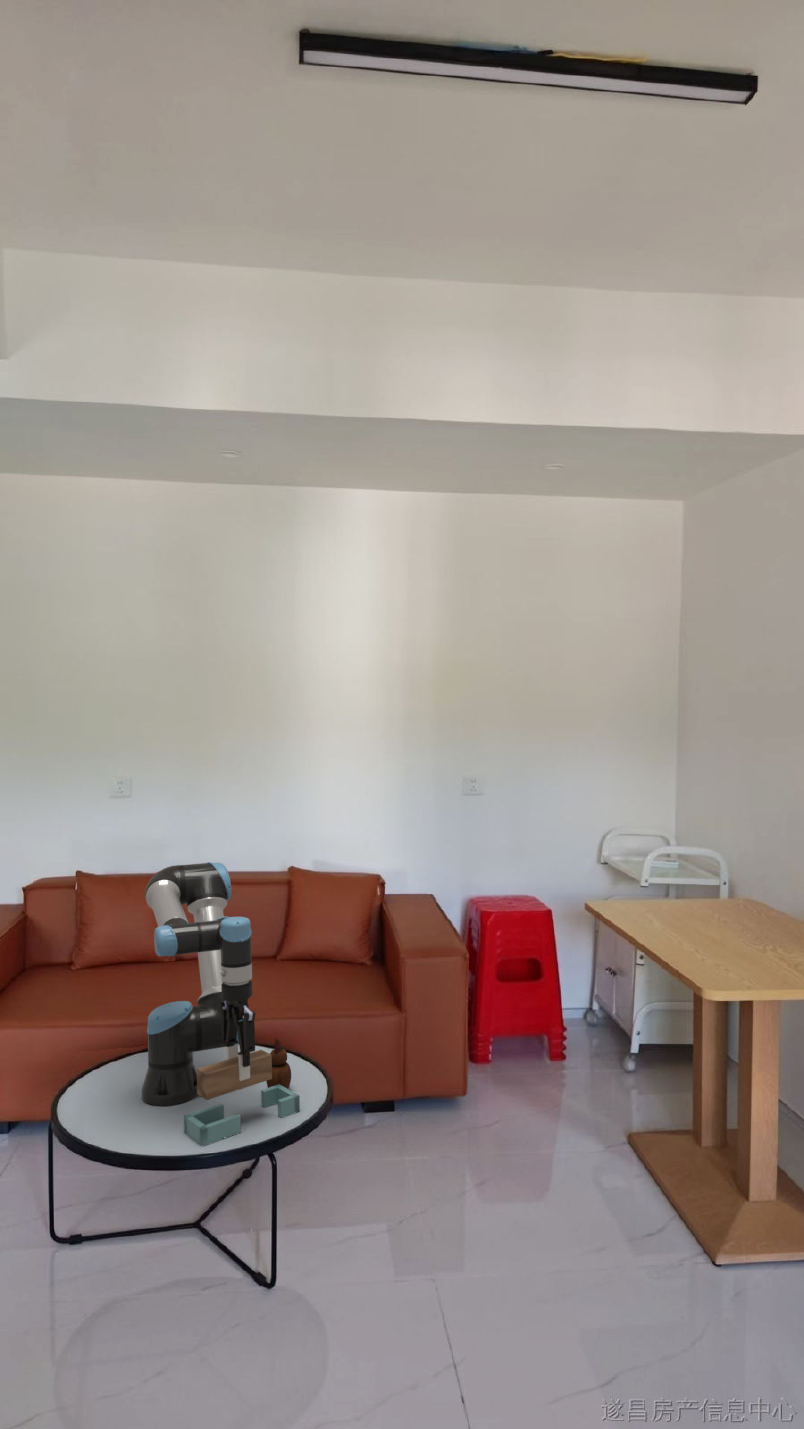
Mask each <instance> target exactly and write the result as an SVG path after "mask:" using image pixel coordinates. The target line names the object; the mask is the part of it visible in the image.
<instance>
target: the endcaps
mask: <svg viewBox="0 0 804 1429" xmlns="http://www.w3.org/2000/svg"><path fill="white" fill-rule="evenodd" d="M260 1098H261V1099H260V1100H261V1101H260V1102H261V1103H260V1104H261V1107H262V1108H264V1109H265V1108H267V1107H268V1108H269V1107H271V1106H273V1105H276V1104H277V1116H278V1118H280V1119H281V1118H282V1119H283V1118H284V1117H288V1116H291V1115H293V1113H294V1114H296V1113H298V1112H300V1111H301V1110H300V1109H301V1108H300V1106H301V1105H300V1100H301V1099H300V1095H299V1094H297V1093H296V1092H294V1091H293V1090H290V1089H289V1088H288V1089H287V1088H285V1087H283V1086H282V1085H280V1084H278V1085H275V1086H272V1087H269V1088H268V1087H267V1088H264V1089H261V1090H260ZM295 1112H296V1113H295ZM290 1114H291V1115H290ZM183 1132H184V1133H185V1134H186V1135H187V1136H189V1137H190V1138H191V1139H192V1140H194V1141H195V1142H196V1143H197V1144H199V1145H200V1146H202V1145H203V1146H202V1147H205V1146H207V1145H208V1146H209V1145H210V1143H211V1144H213V1142H214V1143H216V1142H218V1141H217V1140H219V1141H221V1140H220V1139H222V1138H224V1137H227V1138H230V1137H233V1136H236V1135H238V1134H240V1133H241V1132H242V1130H241V1115H239V1114H238V1113H236V1114H234V1115H230V1116H227V1117H225V1105H224V1104H223V1103H218V1104H214V1105H212V1106H209V1107H207V1108H206V1107H205V1108H204V1109H200V1110H198V1111H195V1112H191V1113H188V1114H185V1115H184V1116H183ZM237 1133H238V1134H237ZM235 1134H236V1135H235ZM232 1135H233V1136H232ZM222 1140H223V1139H222ZM215 1141H216V1142H215ZM204 1145H205V1146H204Z"/></svg>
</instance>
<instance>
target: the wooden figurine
mask: <svg viewBox="0 0 804 1429" xmlns="http://www.w3.org/2000/svg"><path fill="white" fill-rule="evenodd" d="M281 1043H282V1042H281V1041H280V1040H279V1037H275V1039H274V1049H272V1050H271V1051H270V1052H269V1054H271V1055H272V1079H270V1080H267V1081H265V1082H266V1086H267V1088H269V1087H272V1086H275V1085H278V1084H280V1085H282V1086H283V1087H285V1088H287V1089H289V1088H290V1085H291V1081H292V1069H291V1066H290V1064H289V1062H287V1061H288V1053H287V1052H288V1051H287V1050H286V1049H285V1048H282V1044H281Z"/></svg>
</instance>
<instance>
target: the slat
mask: <svg viewBox="0 0 804 1429" xmlns="http://www.w3.org/2000/svg"><path fill="white" fill-rule="evenodd" d="M196 1072H197V1094H198V1095H199V1096H200V1097H201V1098H203V1099H204V1100H207V1101H209V1100H211V1099H214V1098H217V1097H218V1098H219V1097H220V1096H223V1095H227V1094H230V1093H234V1092H236V1091H240V1090H242V1089H246V1088H249V1087H252V1086H254V1085H258V1084H261V1083H264V1082H266V1081H267V1080H270V1079H272V1055H271V1054H270V1052H267V1051H265V1050H262V1049H259V1050H255V1051H253V1052H250V1078H249V1079H245V1080H242V1081H240V1080H239V1058H238V1057H235V1058H231V1059H228V1060H227V1059H224V1060H222V1061H218V1062H216V1063H212V1064H209V1065H205V1066H201V1067H198V1068H196ZM198 1095H197V1096H198Z"/></svg>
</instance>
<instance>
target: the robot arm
mask: <svg viewBox="0 0 804 1429" xmlns="http://www.w3.org/2000/svg"><path fill="white" fill-rule="evenodd" d="M144 897H145V900H146V901H145V902H146V904H147V906H148V907H149V908H150V909H152V911H153V914H154V917H155V920H156V924H157V927H156V928H155V929H154V932H153V938H154V939H153V940H154V942H153V943H154V952H155V954H156V956H158V957H174V956H179V955H180V956H181V955H188V954H196V953H197V958H198V968H199V978H200V985H201V986H200V987H201V995H200V996H199V997H198V999H197V1001H196V1002H197V1005H196V1006H193V1005H192V1002H190V1001H188V1000H183V1001H182V1000H178V1001H177V1000H176V1001H170V1002H168V1003H165V1004H162V1005H159V1006H158V1007H157V1006H156V1008H154V1009H153V1010H151V1012H150V1013H149V1015H148V1017H147V1029H146V1033H147V1061H148V1062H147V1066H148V1067H147V1071H146V1074H145V1077H144V1081H143V1084H142V1088H141V1099H142V1101H143V1102H145V1103H146V1104H148V1105H153V1106H160V1107H161V1106H162V1107H163V1106H172V1105H178V1104H183V1103H185V1102H188V1101H190V1100H192V1099H194V1098H195V1097H197V1096H198V1094H197V1068H196V1066H195V1064H194V1055H193V1054H194V1053H195V1052H202V1051H207V1050H209V1051H210V1050H214V1049H220V1048H226V1056H227V1057H226V1058H227V1059H226V1060H228V1059H231V1058H235V1057H238V1058H239V1080H240V1081H242V1080H245V1079H249V1078H250V1053H252V1052H255V1051H256V1036H255V1035H256V1032H255V1020H256V1011H255V1010H252V1011H251V1010H250V1007H249V1001H248V1000H249V998H251V997H252V996H253V982H252V979H253V962H252V928H251V927H252V926H251V920H250V918H247V917H244V916H231V917H230V916H225V915H224V909H225V908H226V907H227V905H228V901H229V900H230V899H231V897H232V884H231V878H230V875H229V871H228V869H227V867H226V865H224V864H223V863H222V862H210V861H208V862H205V863H204V862H202V863H194V864H193V863H192V864H180V865H179V864H178V865H170V866H167V867H165V868H162V869H161V870H160V871H158V872H156V873H155V874H154V875H153V876H152V877H151V879H150V880H149V881H148V883H147V884H146V886H145V890H144ZM182 905H187V906H186V907H187V911H188V912H189V913H190V914H192V915H193V921H194V922H189V921H188V918H187V916H186V912H185V910H184V907H183V906H182Z"/></svg>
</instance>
